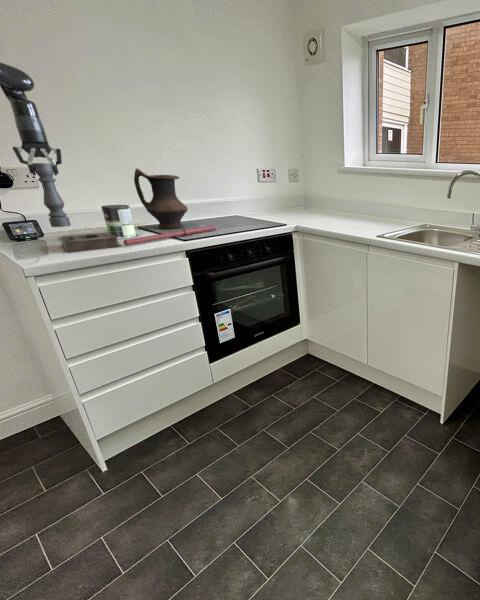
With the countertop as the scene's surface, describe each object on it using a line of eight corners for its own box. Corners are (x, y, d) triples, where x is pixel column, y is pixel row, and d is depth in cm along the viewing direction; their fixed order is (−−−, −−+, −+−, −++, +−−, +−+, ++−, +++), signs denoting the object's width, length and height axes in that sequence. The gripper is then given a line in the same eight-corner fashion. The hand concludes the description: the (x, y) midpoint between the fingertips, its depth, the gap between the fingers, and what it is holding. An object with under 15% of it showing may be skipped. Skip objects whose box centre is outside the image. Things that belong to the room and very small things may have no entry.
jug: (187, 223, 203) (177, 168, 192) (193, 228, 190) (183, 169, 179) (143, 226, 191) (130, 167, 180) (147, 231, 177) (132, 169, 166)
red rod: (213, 230, 187) (212, 224, 186) (217, 230, 186) (216, 224, 185) (123, 245, 148) (121, 238, 147) (128, 246, 147) (126, 239, 146)
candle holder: (71, 224, 154) (52, 163, 145) (70, 226, 149) (51, 163, 140) (51, 225, 150) (31, 163, 141) (50, 227, 146) (29, 163, 137)
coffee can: (110, 239, 159) (101, 207, 154) (108, 235, 166) (100, 205, 161) (138, 237, 165) (130, 206, 160) (135, 233, 172) (127, 204, 167)
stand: (68, 252, 136) (65, 242, 135) (62, 245, 146) (59, 236, 144) (118, 246, 147) (116, 237, 146) (110, 240, 157) (108, 231, 156)
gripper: (55, 131, 144) (67, 175, 150) (3, 128, 134) (19, 174, 140) (57, 130, 139) (70, 175, 145) (4, 127, 129) (20, 175, 135)
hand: (45, 175), depth 142 cm, fingers closed on candle holder, 5 cm apart
